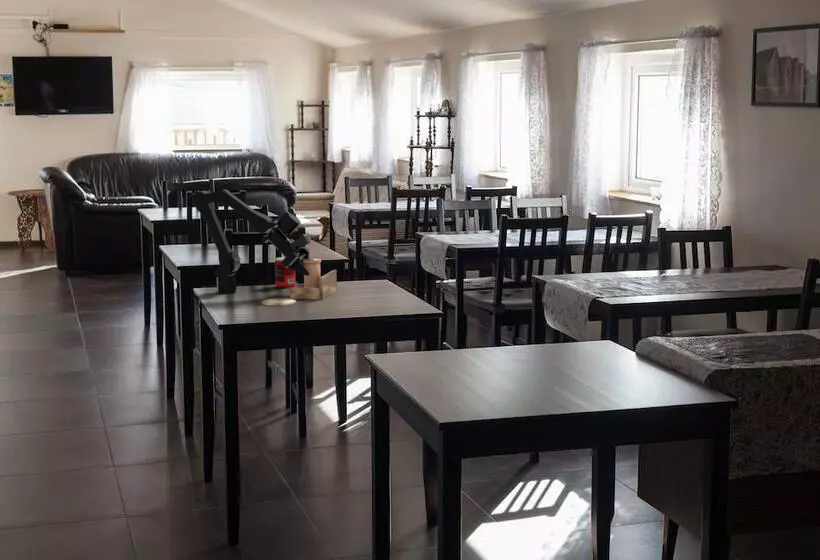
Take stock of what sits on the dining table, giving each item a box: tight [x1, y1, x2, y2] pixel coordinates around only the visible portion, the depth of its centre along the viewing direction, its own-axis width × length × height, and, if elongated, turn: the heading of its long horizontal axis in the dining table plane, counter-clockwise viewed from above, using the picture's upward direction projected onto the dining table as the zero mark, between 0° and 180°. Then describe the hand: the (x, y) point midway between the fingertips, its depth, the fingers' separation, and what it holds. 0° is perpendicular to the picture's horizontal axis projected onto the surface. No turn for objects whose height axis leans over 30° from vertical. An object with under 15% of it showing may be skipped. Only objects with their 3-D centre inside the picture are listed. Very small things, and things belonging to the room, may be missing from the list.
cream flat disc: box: [261, 298, 297, 307], centre depth 390 cm, size 12×12×1 cm
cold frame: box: [289, 269, 338, 300], centre depth 408 cm, size 12×21×8 cm, turn 170°
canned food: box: [274, 256, 296, 289], centre depth 428 cm, size 8×8×11 cm
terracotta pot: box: [303, 257, 322, 288], centre depth 408 cm, size 7×7×13 cm
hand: (312, 273), depth 408 cm, fingers open, 9 cm apart
